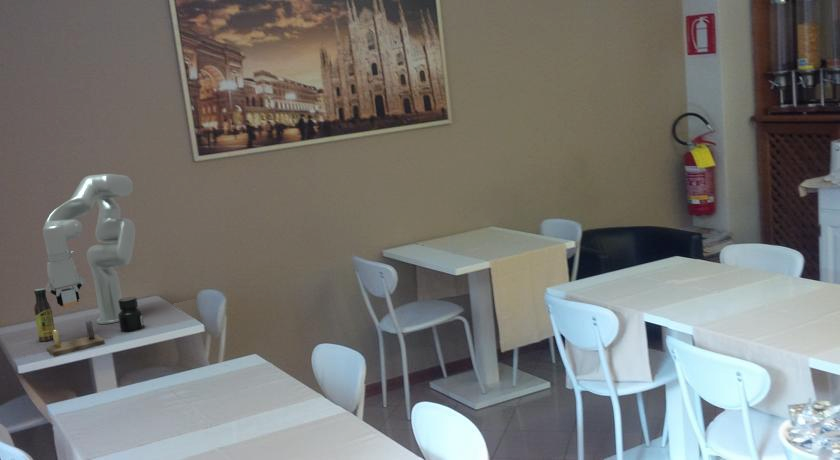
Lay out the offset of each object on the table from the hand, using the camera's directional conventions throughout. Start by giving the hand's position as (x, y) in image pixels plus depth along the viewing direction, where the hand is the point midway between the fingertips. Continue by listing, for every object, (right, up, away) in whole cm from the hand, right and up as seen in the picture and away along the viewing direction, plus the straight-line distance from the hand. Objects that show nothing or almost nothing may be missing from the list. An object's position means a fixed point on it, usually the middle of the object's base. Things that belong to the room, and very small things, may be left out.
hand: (69, 303), depth 342 cm
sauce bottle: (-11, -15, +9) cm, 21 cm away
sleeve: (0, -1, 0) cm, 1 cm away
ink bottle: (+21, -11, +9) cm, 26 cm away
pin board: (+6, -15, -9) cm, 19 cm away
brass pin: (+1, -17, -12) cm, 20 cm away
